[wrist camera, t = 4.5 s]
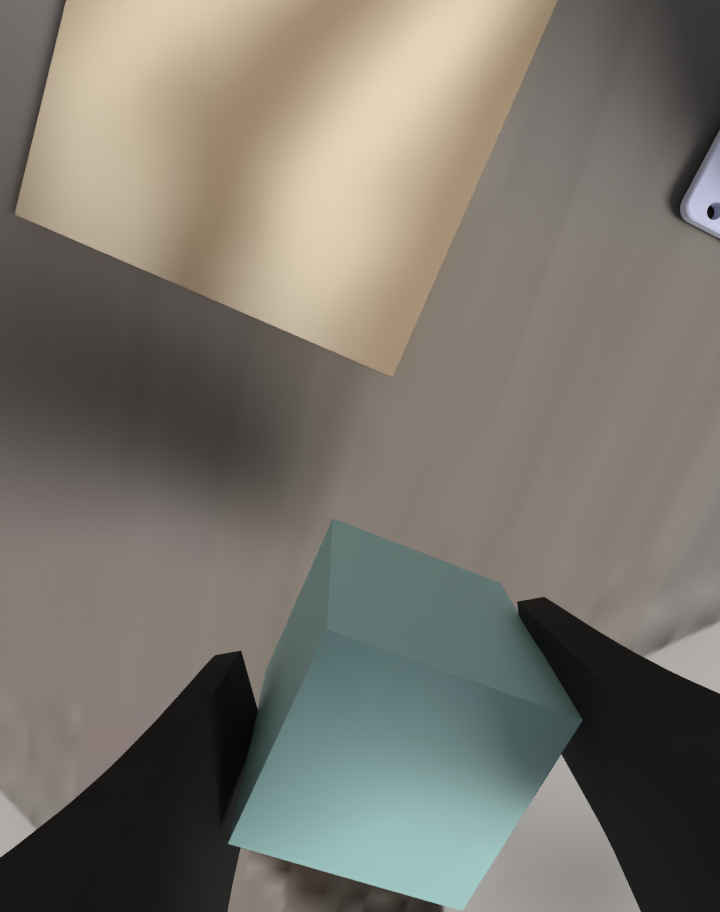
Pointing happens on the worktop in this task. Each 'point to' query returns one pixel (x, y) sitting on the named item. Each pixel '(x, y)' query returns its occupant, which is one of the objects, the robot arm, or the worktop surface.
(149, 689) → the worktop surface
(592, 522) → the worktop surface
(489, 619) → the teal cube
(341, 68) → the birch board
